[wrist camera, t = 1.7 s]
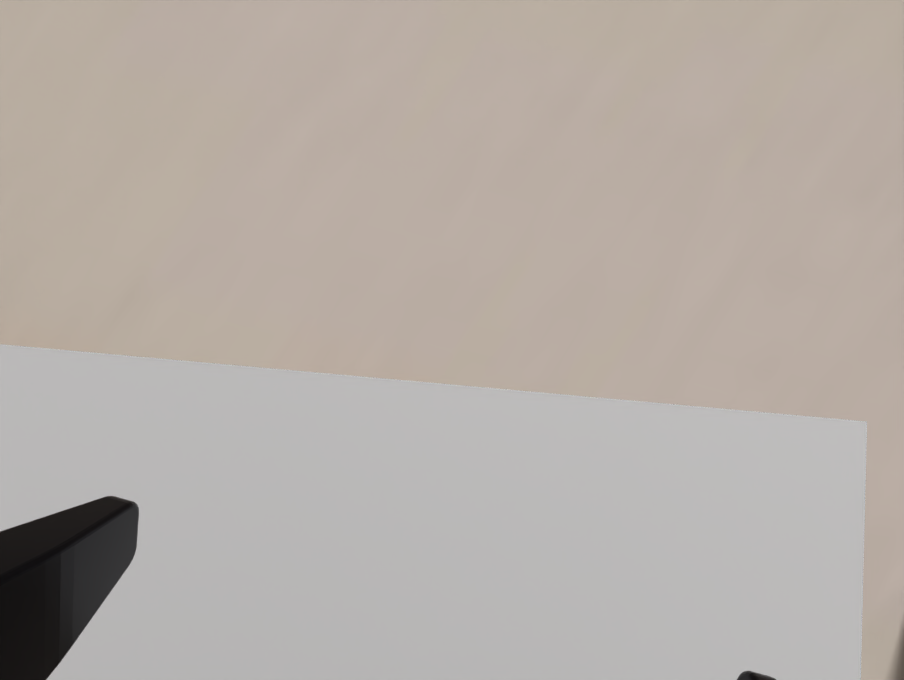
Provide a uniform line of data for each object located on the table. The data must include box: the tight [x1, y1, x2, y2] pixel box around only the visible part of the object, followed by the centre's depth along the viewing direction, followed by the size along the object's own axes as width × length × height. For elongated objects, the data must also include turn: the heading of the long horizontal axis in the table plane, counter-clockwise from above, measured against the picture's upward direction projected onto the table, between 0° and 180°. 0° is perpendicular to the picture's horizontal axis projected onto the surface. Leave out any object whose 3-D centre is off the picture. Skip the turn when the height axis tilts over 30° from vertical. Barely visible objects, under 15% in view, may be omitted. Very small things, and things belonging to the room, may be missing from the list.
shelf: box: [0, 344, 867, 680], centre depth 21 cm, size 12×30×5 cm, turn 86°
